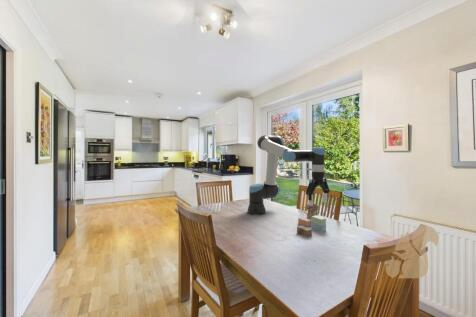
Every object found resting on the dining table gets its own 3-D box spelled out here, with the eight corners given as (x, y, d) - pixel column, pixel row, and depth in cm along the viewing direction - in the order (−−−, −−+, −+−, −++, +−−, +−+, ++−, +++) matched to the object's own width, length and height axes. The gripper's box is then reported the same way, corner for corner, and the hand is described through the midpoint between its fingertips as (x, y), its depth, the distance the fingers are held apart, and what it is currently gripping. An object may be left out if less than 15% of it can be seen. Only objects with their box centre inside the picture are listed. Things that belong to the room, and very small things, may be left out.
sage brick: (325, 224, 138) (325, 218, 137) (321, 225, 136) (321, 219, 136) (315, 221, 145) (315, 215, 144) (311, 222, 143) (311, 216, 142)
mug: (317, 217, 166) (317, 203, 166) (320, 221, 157) (320, 206, 156) (301, 217, 167) (301, 203, 166) (303, 221, 157) (303, 206, 157)
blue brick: (311, 228, 142) (311, 222, 142) (314, 227, 145) (314, 221, 145) (322, 232, 136) (322, 225, 136) (326, 230, 138) (325, 224, 138)
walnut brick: (297, 233, 135) (296, 226, 135) (301, 231, 137) (301, 225, 137) (307, 237, 128) (307, 230, 128) (311, 235, 130) (311, 229, 130)
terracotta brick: (298, 223, 152) (298, 218, 152) (302, 222, 154) (302, 217, 154) (307, 227, 145) (307, 221, 145) (311, 226, 147) (311, 220, 147)
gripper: (309, 172, 130) (309, 208, 130) (335, 170, 143) (335, 202, 143) (300, 171, 136) (299, 205, 137) (325, 169, 149) (325, 200, 150)
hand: (317, 204), depth 140 cm, fingers open, 13 cm apart
